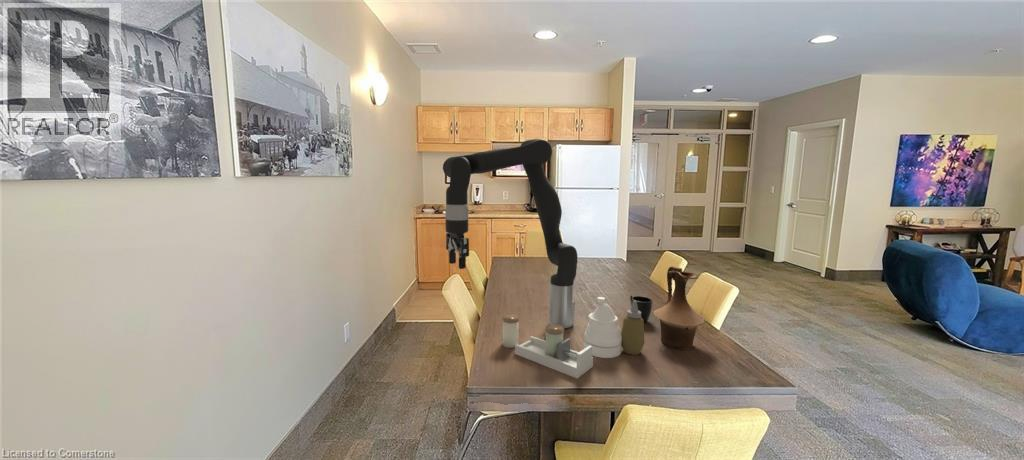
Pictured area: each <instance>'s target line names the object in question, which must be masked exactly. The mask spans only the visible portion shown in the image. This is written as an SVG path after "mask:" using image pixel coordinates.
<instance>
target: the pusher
mask: <svg viewBox="0 0 1024 460" xmlns="http://www.w3.org/2000/svg"><path fill="white" fill-rule="evenodd" d="M571 342H572V341H571V338H569V337H568V338H566V339H565V340H563V342H561V343H560V344H558V345H557V354H556V359H559V360H561V361H564V360H565V359H567V358H568V357H569V356H570V357H573V358H575V357H576V355H575V354H572V353H570V349H571Z"/></svg>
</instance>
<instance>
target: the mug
mask: <svg viewBox="0 0 1024 460" xmlns="http://www.w3.org/2000/svg"><path fill="white" fill-rule="evenodd" d="M629 300H630V306H632V303H633V301H637V307H638V310H639V311H640V312H641V318H642V319H643V320H644V324H647V323H648V322H649V321H648V320H649V318H650V316H651V314H652V309H653V308H652V307H653V299H652V298H650V297H648V296H641V295H633V294H631V295H630V298H629ZM646 322H647V323H646Z"/></svg>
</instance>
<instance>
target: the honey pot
mask: <svg viewBox="0 0 1024 460" xmlns="http://www.w3.org/2000/svg"><path fill="white" fill-rule="evenodd" d="M605 300H606V298H605V297H603V296H598V297H597V302H598V304H599V303H600V304H599V305H598V306H597V307H596V308H595V310H594V311H593V312H590V313H589V314H588V315H587V316H588V317H587V318H588V319H589V321H588V323H587V326H586V330H585V331H584V335H583V349H585V348H586V347H588V346H589V345H590V346H592V357H598V358H602V359H612V358H617V357H619V356H620V355H621V354H622V336H621V329H620V326H619V324H618V321H619V318H618V316H616V315H615V313H614V311H613V308H611V306H610V305H609V304H608V303H605Z"/></svg>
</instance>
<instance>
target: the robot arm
mask: <svg viewBox="0 0 1024 460" xmlns="http://www.w3.org/2000/svg"><path fill="white" fill-rule="evenodd" d="M552 148H553V147H552V144H550V142H549V141H547V140H546V139H543V138H532V139H527V140H524V141H523V142H522V143H521V145H520V146H515V147H509V148H507V147H506V148H500V149H499V148H498V149H490V150H485V151H480V152H475V153H471V154H466V155H458V156H457V155H455V156H452V157H448V158H446V159H445V161H444V162H443V165H442V171H443V173H444V175H445V176H447V177H448V178H449V185H448V187H447V188H446V190H445V211H444V214H445V219H444V220H445V224H444V225H445V232H446V234H445V246H446V247H445V250H447V253H448V263H449V264H450V265H451V264H456V263H457V256H458V268H459V269H460V270H464V269H466V267H467V266H466V264H467V263H466V260H467V257H470V239H469V237H465V234H466V233H468V232H469V207H468V205H469V203H468V198H469V197H468V195H469V193H468V190H469V187H470V181H471V175H474V174H479V175H481V174H486V173H490V172H494V171H498V170H499V171H500V170H503V169H507V168H508V169H509V168H510V167H516V166H522V167H523V169H524V172H525V174H526V176H527V179H528V182H529V187H530V189H531V193H532V197H533V199H534V204H535V205H534V206H535V208H536V211H537V216H538V219H539V221H540V226H541V229H542V233H543V238H544V244H545V250H546V255H547V258H548V260H549V262H550V263H551V264H552V265H555V266H557V272H556V273H554V274H552V275H551V276H550V287H549V288H550V290H549V291H550V292H549V294H550V295H549V318H548V319H549V321H548V323H549V324H548V325H551V324H556V325H560V326H562V327H563V328H564V329H568V328H571V327H572V326H574V324H575V310H576V309H575V308H576V307H575V305H576V304H575V303H576V302H575V301H574V284H575V283H574V281H575V279H576V277H577V276H576V275H577V268H578V251H577V249H576V248H575V247H574V245H570V244H566V243H564V241H563V239H562V236H561V233H560V225H561V219H562V213H563V211H562V210H563V209H562V206H561V201H560V197H559V194H558V193H557V191H556V189H555V187H554V186H553V185H552V183H551V181H549V179H548V177H547V176H546V173H545V170H544V167H543V165H544V164H546V163H547V162H549V160H551V158H552V155H553V149H552Z"/></svg>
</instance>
